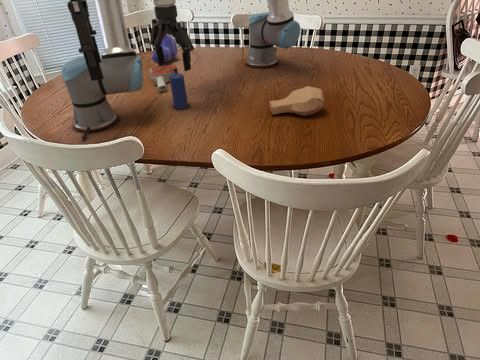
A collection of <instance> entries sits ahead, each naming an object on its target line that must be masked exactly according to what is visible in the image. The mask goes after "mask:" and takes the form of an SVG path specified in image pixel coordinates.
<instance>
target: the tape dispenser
mask: <svg viewBox="0 0 480 360" xmlns="http://www.w3.org/2000/svg"><path fill="white" fill-rule="evenodd" d="M165 68H166V69H165ZM163 69H164V70H163ZM148 71H149V75H150V77H151V80H152V81H153V83H154V84H155V86H157V88H156V89H157V92H159V93H160V92H165V91H167V89H168V86H167V83H170V80H169V76H170V75H172V74H176V73H179V72H178V67H177V64H169V65H161V67H159V66H156V67H149V69H148Z"/></svg>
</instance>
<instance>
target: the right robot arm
mask: <svg viewBox="0 0 480 360" xmlns="http://www.w3.org/2000/svg"><path fill="white" fill-rule="evenodd" d="M152 4H153V6H154V7H153V9H154V15H155V18H152V19H151V32H150V38H149V39H150V40H149V45H151V46H153V47H154V52H155V51H156V55H157V58H158V64H159V65H161V66H164V65H165V64H166V62H165V59H164V53H163V47H162V46H161V43H162V40H163V38H164V36H165V34H167V35H168V36H172V37H173V39H174V40H175V42H176V44H178V46H179V47H180V49H181V51H182V52H181V57H182V64H183V71H184V72H188V71H190V70H192V65H191V61H192V59H191V52H192V51H194V50H195V46H194V44H193V43H192V41H191V38H190V36H189V34H188V31H187V29H186V25H185V21H183V20H181V21H177V17H178V10H177V8H178V7H177V5H176V0H152ZM289 4H290V3H289V0H267V7H268V11H266V12H265V11H264V12H258V13H254V14H251V15H250V16H249V17H248V34H249V36H248V37H249V49H248V54H247V57H246V65H247V66H248V67H250V68H255V69H263V68H270V67H274V66H276V65H277V64H278V56H277V52H276V47H279V49H291V48H293V47H294V46H295V45H296V44H297V42H298V40H299V38H300V36H301V24H300V23H299V22H298V21H297V20H295V16H294V12H293V11H292V10H291V9H290V5H289ZM159 65H158V66H159Z"/></svg>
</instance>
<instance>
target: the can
mask: <svg viewBox="0 0 480 360" xmlns="http://www.w3.org/2000/svg"><path fill="white" fill-rule="evenodd" d="M169 80H170V81H169V84H170V92H171V96H172V103H173V107H174V109H175V110H184V109H187V108H188V107H189V103H188V96H187V89H186V82H185V75H184V74H183V73H179V72H178V73H176V74H172V75H170V76H169Z"/></svg>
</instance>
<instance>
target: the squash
mask: <svg viewBox="0 0 480 360" xmlns="http://www.w3.org/2000/svg"><path fill="white" fill-rule="evenodd" d="M324 102H325V96H324V92H323V90H322V89H321V88H319V87H313V86H309V85H306V86H304V87H301V88H298V89H294V90H293V91H291V92H290V93H289V95H288V96H287V97H285V98H282V99H277V100H270V101H269V103H268V106H269V109H270V113H271V114H272V115H273V116H274V115H277V114H278V115H279V114H283V113H291V114H292V113H293V114H296V115H299V116H303V117H306V116H313V115H315V114H317V113H318V112H320V111H321V110H322V109H323V105H324Z"/></svg>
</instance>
